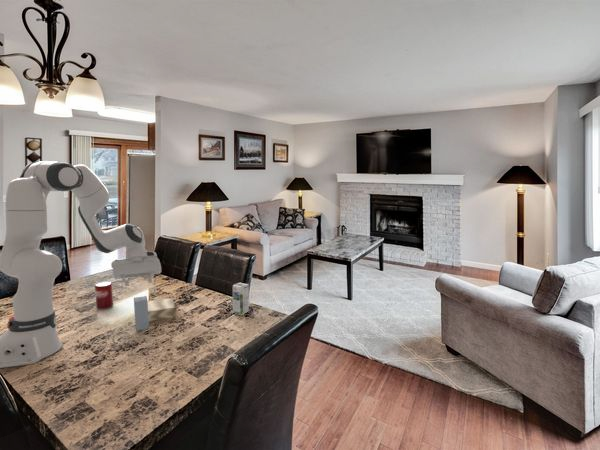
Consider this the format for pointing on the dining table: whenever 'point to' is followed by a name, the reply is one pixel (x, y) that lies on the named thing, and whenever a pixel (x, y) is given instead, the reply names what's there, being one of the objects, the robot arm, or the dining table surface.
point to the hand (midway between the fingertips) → (138, 283)
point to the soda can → (103, 295)
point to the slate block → (141, 313)
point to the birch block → (160, 309)
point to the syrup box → (240, 298)
